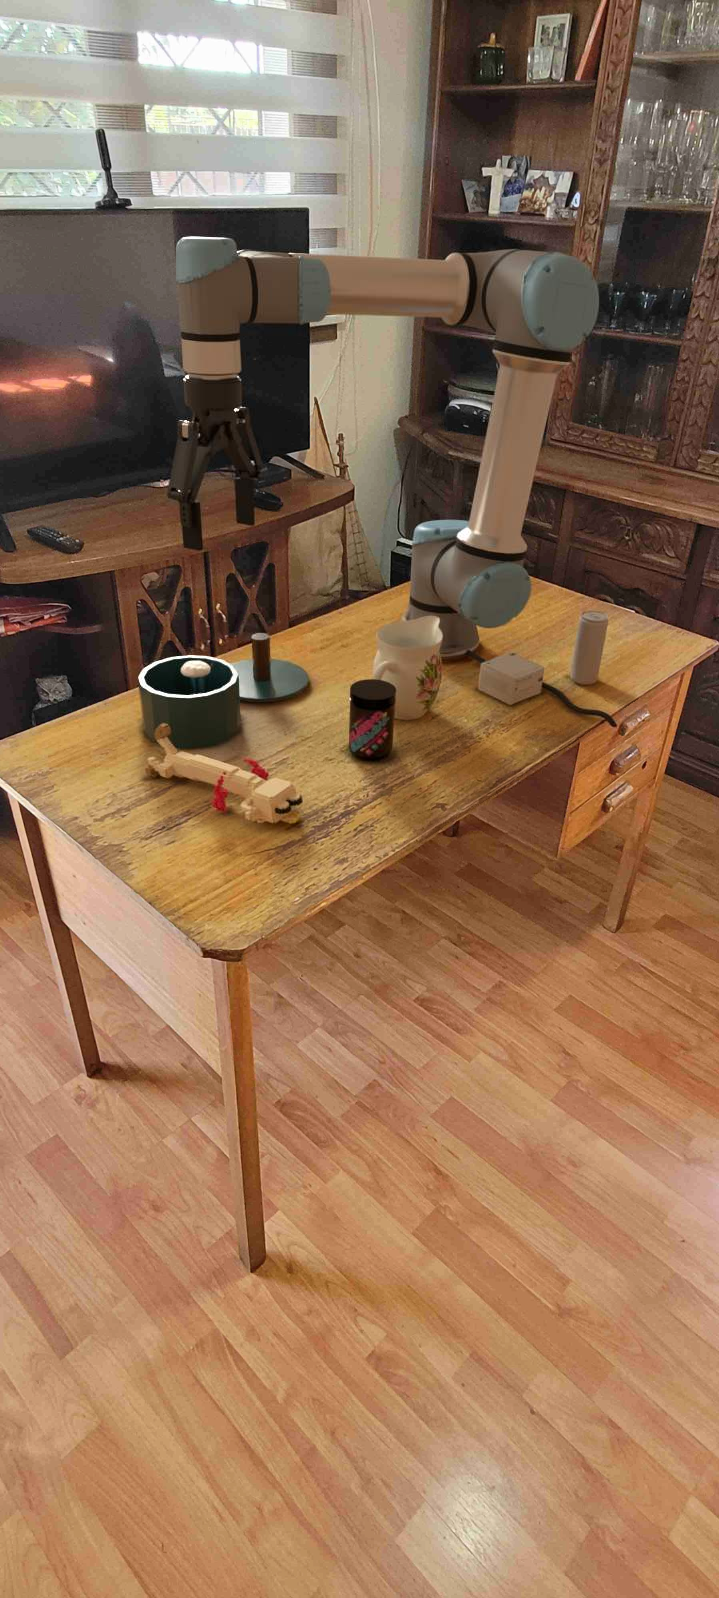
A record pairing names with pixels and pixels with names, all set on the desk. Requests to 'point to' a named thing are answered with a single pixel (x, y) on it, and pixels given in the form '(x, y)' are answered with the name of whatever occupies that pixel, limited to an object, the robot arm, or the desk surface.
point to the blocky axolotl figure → (230, 782)
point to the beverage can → (588, 647)
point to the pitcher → (410, 663)
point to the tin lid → (268, 674)
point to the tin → (190, 703)
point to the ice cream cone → (196, 677)
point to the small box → (510, 678)
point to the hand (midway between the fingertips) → (220, 535)
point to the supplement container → (371, 719)
